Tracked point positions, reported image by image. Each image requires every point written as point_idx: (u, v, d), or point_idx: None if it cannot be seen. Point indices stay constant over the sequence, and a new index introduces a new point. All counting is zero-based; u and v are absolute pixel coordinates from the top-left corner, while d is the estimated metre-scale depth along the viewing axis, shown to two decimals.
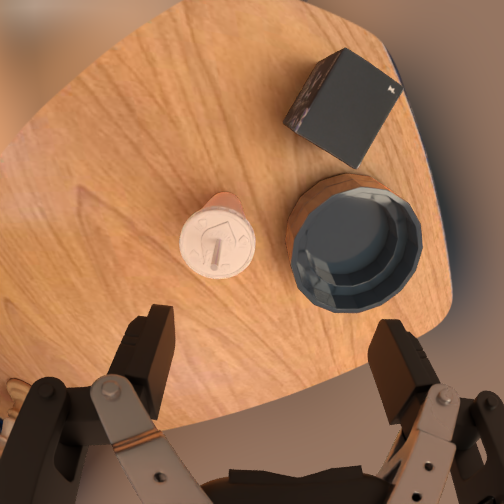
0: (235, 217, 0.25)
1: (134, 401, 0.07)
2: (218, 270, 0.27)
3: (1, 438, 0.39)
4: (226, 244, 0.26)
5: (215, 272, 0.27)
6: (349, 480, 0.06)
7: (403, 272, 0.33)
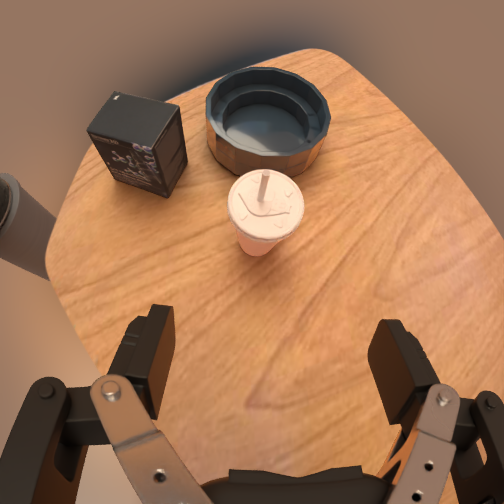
0: (233, 187, 0.26)
1: (134, 401, 0.07)
2: (293, 199, 0.26)
3: None
4: None
5: (296, 202, 0.26)
6: (349, 480, 0.06)
7: (280, 77, 0.36)
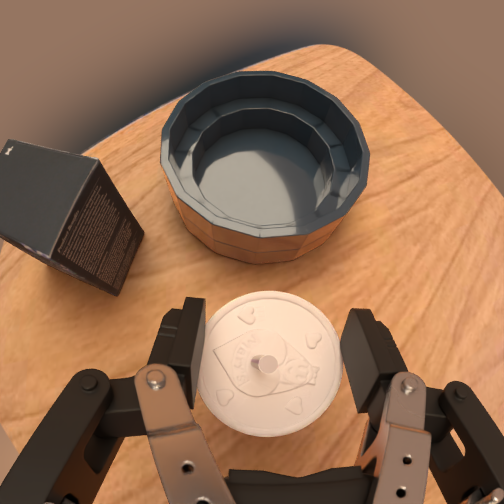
0: None
1: (180, 389, 0.08)
2: (323, 353, 0.13)
3: None
4: (260, 346, 0.13)
5: (328, 358, 0.13)
6: (349, 480, 0.06)
7: (283, 86, 0.23)
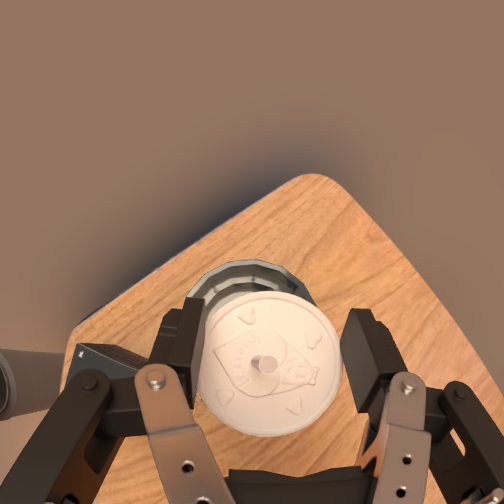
0: None
1: (181, 388, 0.08)
2: (323, 353, 0.13)
3: None
4: (260, 346, 0.13)
5: (328, 358, 0.13)
6: (349, 480, 0.06)
7: (263, 269, 0.34)
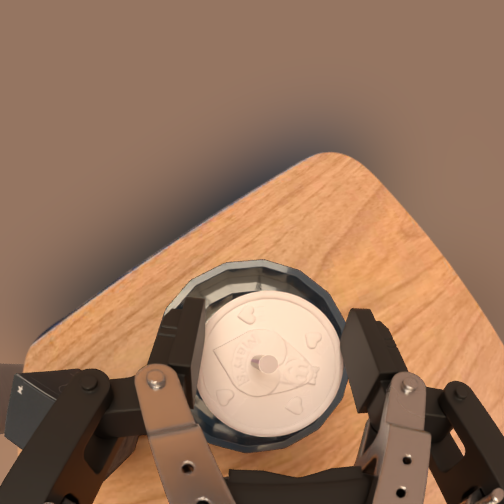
0: None
1: (180, 388, 0.08)
2: (323, 353, 0.13)
3: None
4: (260, 346, 0.12)
5: (328, 358, 0.13)
6: (349, 480, 0.06)
7: (273, 273, 0.24)
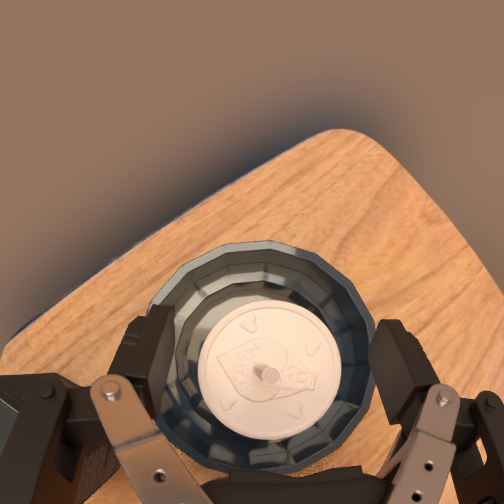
0: (207, 344, 0.13)
1: (134, 401, 0.07)
2: (322, 360, 0.13)
3: None
4: (262, 354, 0.13)
5: (327, 364, 0.13)
6: (349, 480, 0.06)
7: (283, 258, 0.20)
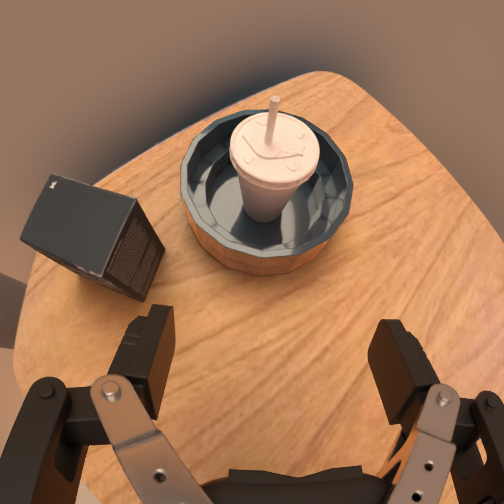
0: (236, 130, 0.22)
1: (134, 401, 0.07)
2: (306, 141, 0.22)
3: None
4: None
5: (310, 144, 0.22)
6: (349, 480, 0.06)
7: None
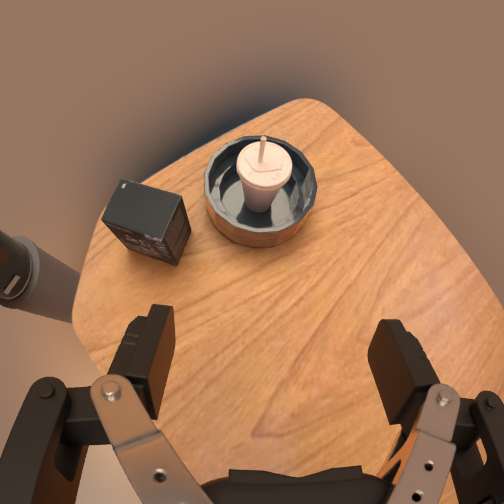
0: (240, 153, 0.36)
1: (134, 401, 0.07)
2: (284, 160, 0.36)
3: None
4: None
5: (286, 162, 0.36)
6: (349, 480, 0.06)
7: None
